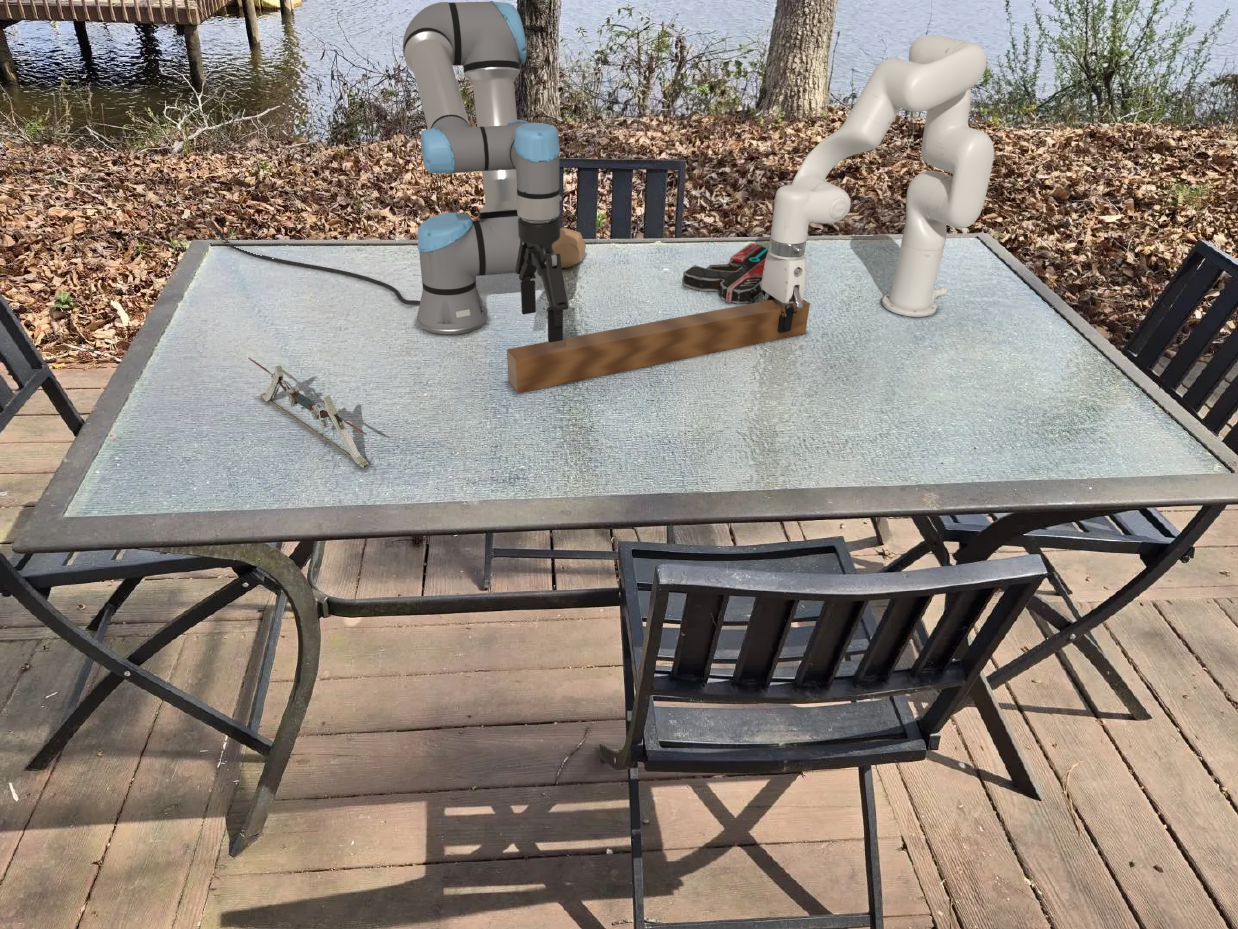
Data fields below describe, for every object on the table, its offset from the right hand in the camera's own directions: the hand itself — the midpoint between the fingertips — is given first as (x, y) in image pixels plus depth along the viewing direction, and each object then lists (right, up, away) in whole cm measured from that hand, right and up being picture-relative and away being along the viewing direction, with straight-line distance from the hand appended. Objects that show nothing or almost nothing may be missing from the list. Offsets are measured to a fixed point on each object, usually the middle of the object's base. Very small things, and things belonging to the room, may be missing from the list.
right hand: (776, 325), depth 195 cm
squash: (-54, +21, +33) cm, 67 cm away
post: (-25, -8, -9) cm, 28 cm away
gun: (-4, +16, +27) cm, 32 cm away
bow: (-90, -25, -37) cm, 101 cm away
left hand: (-50, -4, -27) cm, 57 cm away
